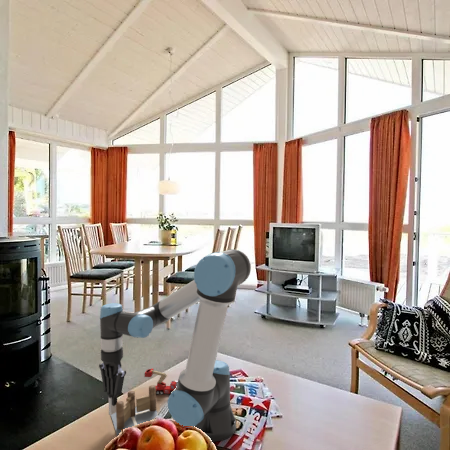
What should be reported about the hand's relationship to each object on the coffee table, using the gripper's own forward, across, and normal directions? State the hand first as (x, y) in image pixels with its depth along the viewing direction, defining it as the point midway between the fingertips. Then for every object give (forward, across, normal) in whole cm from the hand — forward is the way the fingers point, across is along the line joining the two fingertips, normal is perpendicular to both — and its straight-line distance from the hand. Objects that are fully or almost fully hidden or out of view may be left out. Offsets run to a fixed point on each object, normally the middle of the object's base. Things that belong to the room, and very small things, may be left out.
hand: (112, 413), depth 125 cm
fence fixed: (+5, -2, -12) cm, 13 cm away
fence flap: (+4, -2, -4) cm, 6 cm away
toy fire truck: (+5, +4, -27) cm, 28 cm away
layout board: (+5, -2, -8) cm, 10 cm away
